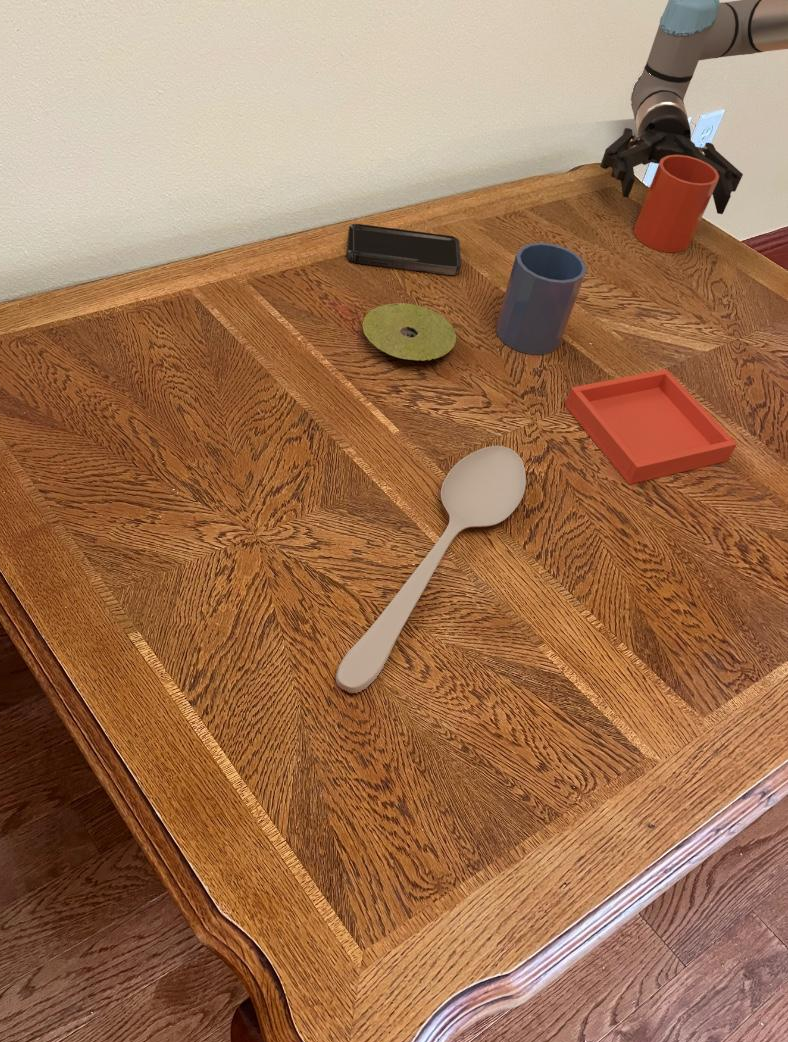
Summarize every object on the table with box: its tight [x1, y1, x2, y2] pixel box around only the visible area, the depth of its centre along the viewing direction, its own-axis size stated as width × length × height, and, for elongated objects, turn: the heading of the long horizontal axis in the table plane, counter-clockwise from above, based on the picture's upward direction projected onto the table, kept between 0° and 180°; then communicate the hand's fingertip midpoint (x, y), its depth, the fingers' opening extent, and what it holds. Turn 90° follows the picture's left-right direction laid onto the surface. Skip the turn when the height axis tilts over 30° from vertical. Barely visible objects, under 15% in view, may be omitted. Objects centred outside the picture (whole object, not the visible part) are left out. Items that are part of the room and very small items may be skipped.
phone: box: [346, 223, 462, 276], centre depth 125 cm, size 8×1×15 cm
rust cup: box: [633, 155, 719, 254], centre depth 132 cm, size 8×8×10 cm
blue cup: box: [495, 242, 588, 356], centre depth 113 cm, size 8×8×10 cm
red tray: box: [564, 368, 738, 485], centre depth 106 cm, size 14×14×3 cm
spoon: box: [335, 445, 527, 694], centre depth 90 cm, size 35×8×3 cm, turn 150°
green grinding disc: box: [362, 302, 457, 362], centre depth 112 cm, size 11×11×2 cm
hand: (676, 196), depth 132 cm, fingers open, 13 cm apart
